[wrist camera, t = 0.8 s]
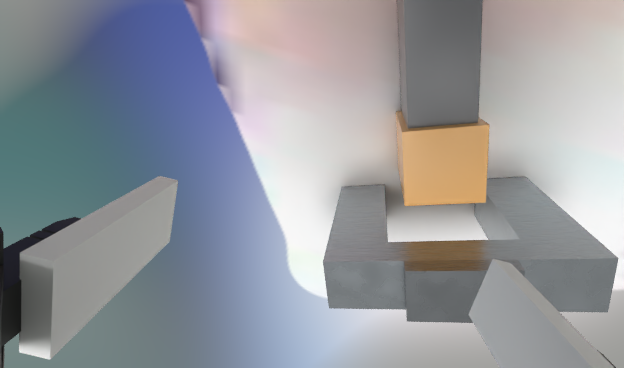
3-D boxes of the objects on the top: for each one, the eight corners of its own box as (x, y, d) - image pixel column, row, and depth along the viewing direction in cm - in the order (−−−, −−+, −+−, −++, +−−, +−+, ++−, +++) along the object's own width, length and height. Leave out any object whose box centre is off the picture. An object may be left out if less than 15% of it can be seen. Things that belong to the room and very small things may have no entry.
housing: (525, 176, 35) (631, 269, 20) (522, 213, 36) (619, 325, 22) (341, 186, 38) (320, 271, 24) (345, 220, 40) (326, 319, 25)
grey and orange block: (388, -70, 29) (392, -115, 21) (465, -85, 28) (501, -139, 20) (398, 170, 37) (404, 206, 28) (460, 166, 35) (485, 202, 27)
